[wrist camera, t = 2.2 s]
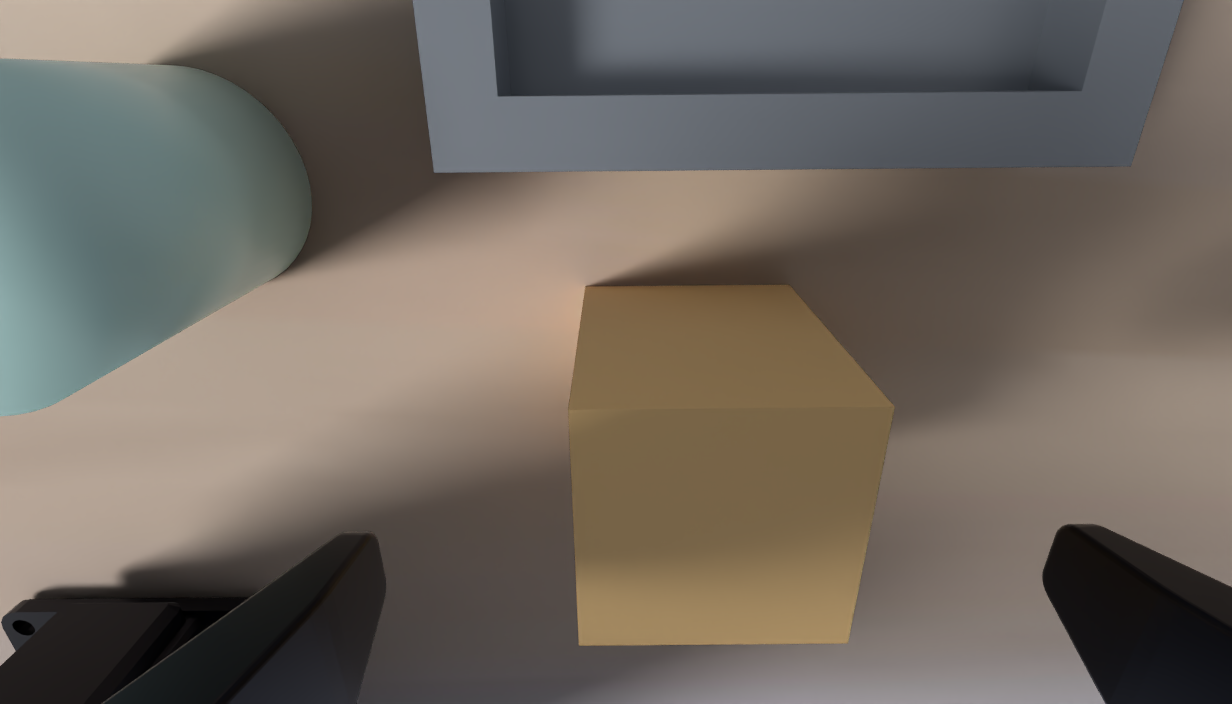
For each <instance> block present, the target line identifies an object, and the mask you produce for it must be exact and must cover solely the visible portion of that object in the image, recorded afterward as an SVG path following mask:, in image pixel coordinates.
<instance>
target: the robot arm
mask: <svg viewBox="0 0 1232 704" xmlns="http://www.w3.org/2000/svg"><path fill="white" fill-rule="evenodd" d="M1042 579H1043V585H1044V588H1045V591H1046V593H1047V595H1048V597H1049V599H1050V601H1051V603H1052V605H1053V607H1054V608H1055V610H1056V612H1057V614H1058V616H1059V618H1060V620H1061V622H1062V624H1063V625H1064V627H1065V629H1066V631H1067V633H1068V635H1069V637H1070V639H1071V640H1072V642H1073V644H1074V646H1075V648H1076V650H1077V652H1078V654H1079V655H1080V657H1081V659H1082V661H1083V663H1084V665H1085V667H1086V669H1087V671H1088V672H1089V674H1090V676H1091V678H1092V680H1093V682H1094V684H1095V686H1096V687H1097V689H1098V691H1099V693H1100V695H1101V696H1102V698H1103V700H1104V702H1105V703H1106V704H1232V587H1230V586H1228V585H1226V584H1224V583H1222V582H1220V581H1217V580H1215V579H1213V578H1211V577H1209V576H1207V575H1205V574H1202V573H1200V572H1198V571H1196V570H1194V569H1192V568H1190V567H1188V566H1185V565H1183V564H1181V563H1179V562H1177V561H1175V560H1173V559H1171V558H1168V557H1166V556H1164V555H1162V554H1160V553H1158V552H1156V551H1153V550H1151V549H1149V548H1147V547H1145V546H1143V545H1141V544H1139V543H1136V542H1134V541H1132V540H1130V539H1128V538H1126V537H1124V536H1121V535H1119V534H1117V533H1115V532H1113V531H1111V530H1109V529H1107V528H1104V527H1102V526H1100V525H1095V524H1068V525H1064V526H1062V527H1061V528H1060V529H1059V530H1058V531H1057V533H1056V535H1055V538H1054V541H1053V543H1052V546H1051V549H1050V552H1049V555H1048V558H1047V560H1046V563H1045V566H1044V569H1043V575H1042ZM385 593H386V577H385V573H384V568H383V563H382V558H381V553H380V548H379V543H378V540H377V537H376V536H375V534H373V533H372V532H343V533H340V534H339V535H337V536H335V537H334V538H333V539H331V540H330V541H328V542H327V543H326V544H324V545H323V546H321V547H320V548H319V549H317V550H316V551H314V552H313V553H312V554H310V555H309V556H307V557H306V558H305V559H303V560H302V561H300V562H299V563H298V564H296V565H295V566H293V567H292V568H291V569H289V570H288V571H286V572H285V573H284V574H282V575H281V576H279V577H278V578H277V579H275V580H274V581H272V582H271V583H270V584H268V585H267V586H265V587H264V588H263V589H261V590H260V591H258V592H257V593H256V594H254V595H253V596H251V597H244V598H130V599H29V600H24V601H22V602H20V603H19V604H17V605H16V606H15V607H14V608H13V609H12V610H11V611H9V612H8V613H7V614H6V615H5V616H4V617H3V619H2V622H1V623H2V626H3V629H4V631H5V632H6V634H7V636H8V638H9V640H10V641H11V643H12V645H13V647H14V649H15V650H16V652H15V653H14V654H13V655H12V656H11V657H9V658H8V659H7V660H6V661H5V662H4V663H3V664H2V665H1V666H0V704H356V702H357V698H358V695H359V691H360V688H361V684H362V680H363V677H364V673H365V669H366V665H367V662H368V658H369V654H370V651H371V647H372V643H373V640H374V636H375V632H376V629H377V625H378V621H379V618H380V614H381V610H382V606H383V603H384V599H385Z"/></svg>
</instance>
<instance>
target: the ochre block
mask: <svg viewBox="0 0 1232 704" xmlns="http://www.w3.org/2000/svg"><path fill="white" fill-rule="evenodd" d="M894 409H895V406H894V405H893V404H892V403H891V402H890V401H889V399H888V398H887V397H886V396H885V395H884V394H883V393H882V391H881V390H880V389H879V388H878V387H877V386H876V384H875V383H874V382H873V381H872V380H871V379H870V378H869V376H868V375H867V374H866V373H865V372H864V371H863V369H862V368H861V367H860V366H859V365H858V364H857V363H856V361H855V360H854V359H853V358H852V357H851V356H850V354H849V353H848V352H847V351H846V350H845V349H844V348H843V346H842V345H841V344H840V343H839V342H838V341H837V339H836V338H835V337H834V336H833V335H832V334H831V333H830V331H829V330H828V329H827V328H826V327H825V326H824V324H823V323H822V322H821V321H820V320H819V319H818V318H817V316H816V315H815V314H814V313H813V312H812V311H811V309H810V308H809V307H808V306H807V305H806V304H805V303H804V301H803V300H802V299H801V298H800V297H799V296H798V294H797V293H796V292H795V291H794V290H793V289H792V287H791V286H790V285H690V286H585V293H584V300H583V307H582V315H581V322H580V329H579V336H578V343H577V350H576V357H575V364H574V372H573V379H572V386H571V393H570V400H569V407H568V418H569V440H570V462H571V484H572V506H573V528H574V550H575V572H576V594H577V616H578V638H579V646H605V645H724V644H843V643H848V640H849V635H850V630H851V625H852V620H853V615H854V610H855V605H856V600H857V595H858V590H859V585H860V580H861V575H862V570H863V565H864V560H865V555H866V550H867V545H868V540H869V535H870V530H871V525H872V520H873V514H874V509H875V504H876V499H877V494H878V489H879V484H880V479H881V474H882V469H883V464H884V459H885V454H886V449H887V444H888V439H889V434H890V429H891V424H892V419H893V414H894Z"/></svg>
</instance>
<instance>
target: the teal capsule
mask: <svg viewBox="0 0 1232 704" xmlns="http://www.w3.org/2000/svg"><path fill="white" fill-rule="evenodd" d="M311 216H312V196H311V189H310V183H309V180H308V176H307V172H306V169H305V166H304V164H303V161H302V159H301V156H300V154H299V152H298V150H297V148H296V147H295V145H294V143H293V141H292V139H291V138H290V136H289V135H288V133H287V132H286V130H285V129H284V128H283V126H282V125H281V124H280V123H279V121H278V120H277V119H276V118H275V117H274V116H273V114H272V113H271V112H270V111H269V110H268V109H267V108H266V107H264V106H263V105H262V104H261V103H260V102H259V101H258V100H257V99H255V98H254V97H253V96H252V95H250V94H249V93H248V92H246V91H245V90H243V89H242V88H240V87H238V86H237V85H235V84H234V83H232V82H230V81H228V80H226V79H224V78H222V77H220V76H217V75H215V74H212V73H209V72H206V71H203V70H200V69H196V68H191V67H186V66H175V65H154V64H129V63H103V62H78V61H52V60H27V59H1V58H0V416H10V415H18V414H23V413H28V412H33V411H37V410H40V409H42V408H45V407H48V406H51V405H53V404H55V403H57V402H59V401H61V400H62V399H64V398H66V397H68V396H70V395H71V394H73V393H75V392H77V391H78V390H80V389H82V388H84V387H85V386H87V385H89V384H91V383H92V382H94V381H96V380H97V379H99V378H101V377H103V376H104V375H106V374H108V373H110V372H111V371H113V370H115V369H117V368H118V367H120V366H122V365H124V364H125V363H127V362H129V361H130V360H132V359H134V358H136V357H137V356H139V355H141V354H143V353H144V352H146V351H148V350H150V349H151V348H153V347H155V346H157V345H158V344H160V343H162V342H163V341H165V340H167V339H169V338H170V337H172V336H174V335H176V334H177V333H179V332H181V331H183V330H184V329H186V328H188V327H189V326H191V325H193V324H195V323H196V322H198V321H200V320H202V319H203V318H205V317H207V316H209V315H210V314H212V313H214V312H216V311H217V310H219V309H221V308H222V307H224V306H226V305H228V304H229V303H231V302H233V301H235V300H236V299H238V298H240V297H242V296H243V295H245V294H247V293H249V292H250V291H252V290H254V289H255V288H257V287H259V286H261V285H262V284H264V283H266V282H268V281H269V280H271V279H273V278H275V277H276V276H278V275H279V274H280V273H282V272H283V271H284V270H286V269H287V268H288V267H289V266H290V265H291V263H292V262H293V261H294V260H295V259H296V257H297V256H298V254H299V253H300V251H301V250H302V248H303V246H304V243H305V241H306V239H307V236H308V232H309V229H310V224H311Z"/></svg>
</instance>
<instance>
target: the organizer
mask: <svg viewBox="0 0 1232 704" xmlns="http://www.w3.org/2000/svg"><path fill="white" fill-rule="evenodd" d="M1183 1H1184V0H413V8H414V16H415V24H416V32H417V40H418V48H419V56H420V64H421V72H422V80H423V88H424V97H425V105H426V113H427V121H428V129H429V137H430V145H431V153H432V161H433V169H434V173H453V172H563V171H673V170H783V169H893V168H1004V167H1114V166H1131V164H1132V161H1133V158H1134V155H1135V152H1136V149H1137V146H1138V142H1139V139H1140V136H1141V133H1142V130H1143V127H1144V124H1145V120H1146V117H1147V114H1148V111H1149V108H1150V105H1151V101H1152V98H1153V95H1154V92H1155V89H1156V86H1157V83H1158V79H1159V76H1160V73H1161V70H1162V67H1163V64H1164V61H1165V57H1166V54H1167V51H1168V48H1169V45H1170V42H1171V39H1172V35H1173V32H1174V29H1175V26H1176V23H1177V20H1178V17H1179V13H1180V10H1181V7H1182V4H1183Z"/></svg>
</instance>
